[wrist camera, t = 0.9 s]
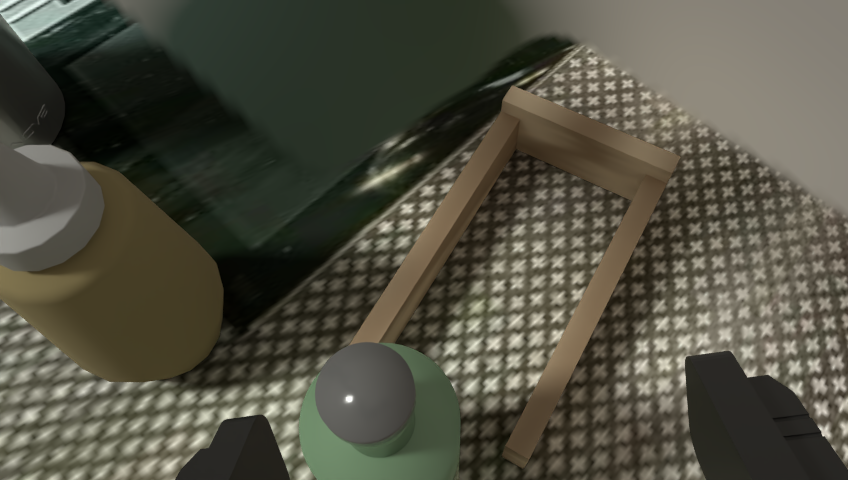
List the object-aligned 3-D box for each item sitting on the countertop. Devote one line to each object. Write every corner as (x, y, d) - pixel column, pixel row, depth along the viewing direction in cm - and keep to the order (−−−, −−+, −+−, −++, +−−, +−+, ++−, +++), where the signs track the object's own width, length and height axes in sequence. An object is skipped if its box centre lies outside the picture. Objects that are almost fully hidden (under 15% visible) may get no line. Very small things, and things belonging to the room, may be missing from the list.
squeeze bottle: (207, 236, 40) (37, 3, 24) (268, 348, 37) (121, 166, 20) (75, 307, 38) (-203, 109, 22) (128, 431, 35) (-153, 306, 19)
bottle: (328, 492, 33) (229, 426, 19) (386, 396, 35) (337, 269, 21) (423, 554, 32) (396, 533, 17) (478, 450, 34) (495, 355, 19)
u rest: (352, 369, 36) (340, 346, 32) (507, 127, 42) (512, 85, 39) (523, 469, 33) (531, 456, 30) (660, 194, 40) (680, 156, 36)
